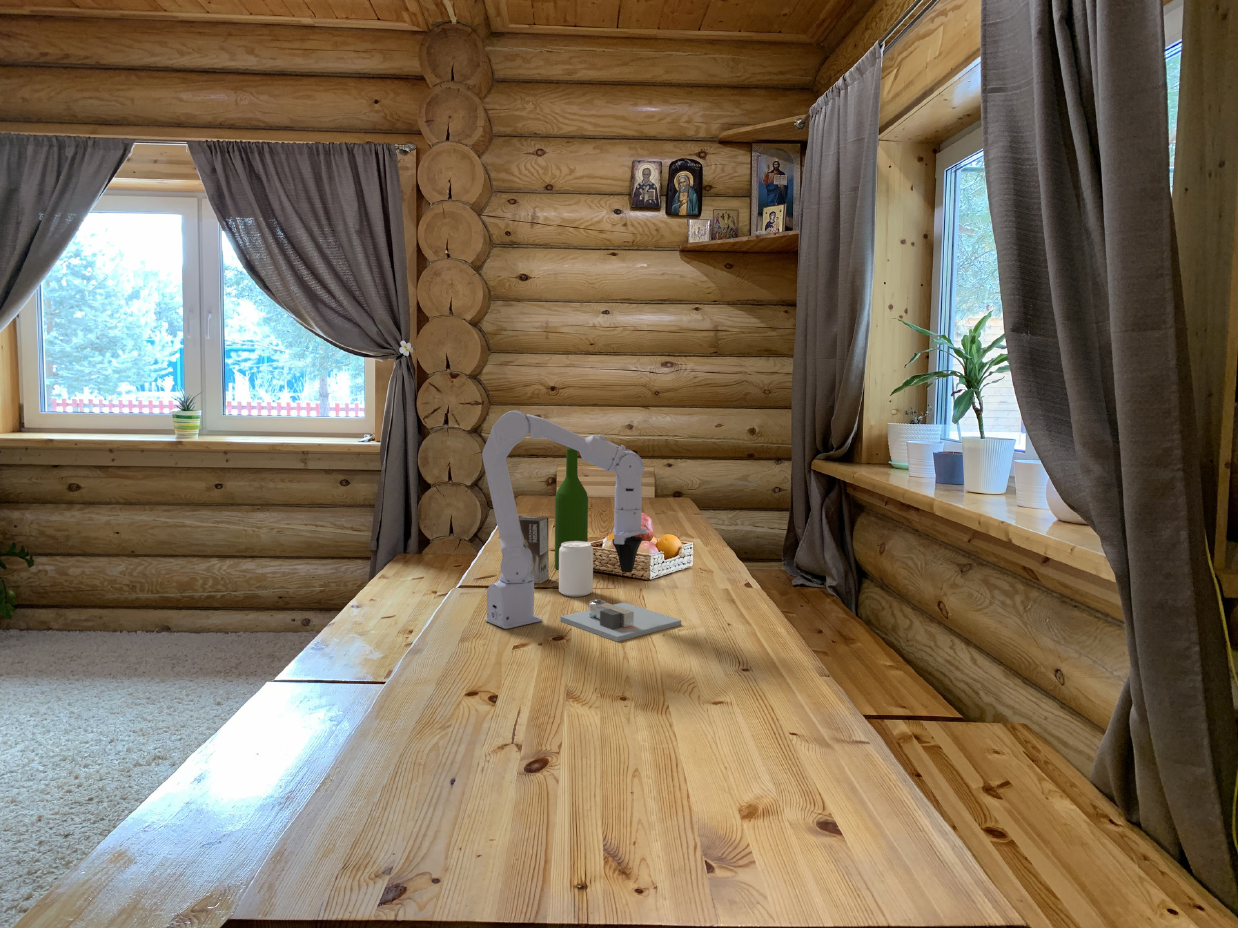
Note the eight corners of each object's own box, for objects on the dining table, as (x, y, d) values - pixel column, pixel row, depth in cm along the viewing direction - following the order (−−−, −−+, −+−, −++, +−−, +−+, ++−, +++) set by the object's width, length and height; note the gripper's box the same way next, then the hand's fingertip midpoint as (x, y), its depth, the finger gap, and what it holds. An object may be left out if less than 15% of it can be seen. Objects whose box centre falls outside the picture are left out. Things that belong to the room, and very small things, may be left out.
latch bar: (585, 614, 172) (585, 599, 171) (598, 611, 174) (598, 596, 174) (622, 627, 163) (622, 611, 162) (635, 624, 165) (635, 608, 165)
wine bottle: (593, 566, 223) (595, 448, 220) (574, 573, 215) (575, 450, 212) (567, 562, 228) (568, 447, 224) (547, 568, 220) (548, 449, 217)
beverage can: (591, 597, 190) (592, 547, 189) (557, 597, 191) (557, 546, 189) (593, 589, 198) (594, 540, 197) (560, 588, 199) (560, 540, 197)
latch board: (617, 641, 158) (617, 621, 158) (560, 620, 171) (560, 602, 171) (681, 624, 170) (681, 606, 170) (623, 606, 183) (623, 589, 183)
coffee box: (549, 578, 209) (550, 516, 207) (540, 584, 203) (540, 520, 201) (517, 575, 212) (517, 514, 210) (506, 581, 205) (506, 518, 204)
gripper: (638, 514, 163) (637, 580, 164) (654, 504, 177) (653, 565, 178) (604, 512, 165) (603, 578, 166) (622, 502, 179) (621, 563, 180)
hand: (627, 571), depth 172 cm, fingers closed
